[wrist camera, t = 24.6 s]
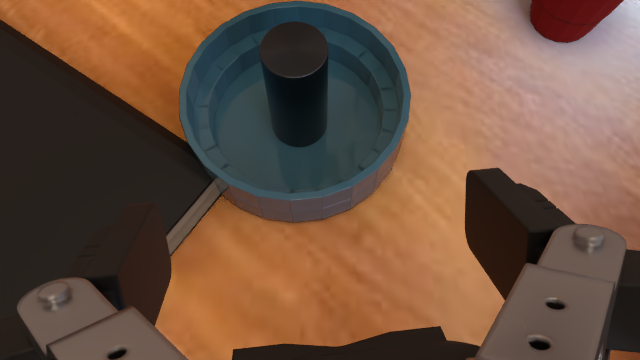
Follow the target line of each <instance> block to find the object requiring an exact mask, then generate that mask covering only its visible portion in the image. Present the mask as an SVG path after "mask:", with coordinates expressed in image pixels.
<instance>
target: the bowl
mask: <svg viewBox="0 0 640 360" xmlns="http://www.w3.org/2000/svg"><path fill="white" fill-rule="evenodd" d="M293 21H297V22H304V23H307V24H310V25H312V26H314V27H316V28H317V29H318V30H319V31H320V32H322V34H323V35H324V36H325V38H326V40H327V43H328V107H327V128H326V131H325V133H324V135H323V136H322V137H321V138H320V139H319V140H318V141H317V142H315V143H313V144H311V145H309V146H305V147H294V146H290V145H287V144H285V143H283V142H282V141H281V140H280V139H279V138H278V137H277V136H276V135H275V133H274V131H273V127H272V121H271V115H270V110H269V104H268V98H267V93H266V87H265V81H264V76H263V70H262V64H261V59H260V53H259V49H260V44H261V41H262V39H263V37H264V36H265V34H266V33H267V32H268V31H269V30H271V29H272V28H273V27H275V26H277V25H279V24H282V23H285V22H293ZM179 90H180V91H179V116H180V121H181V124H182V127H183V130H184V133H185V136H186V139H187V142H188V144H189V146H190V148H191V150H192V152H193V154H194V156H195V157H196V158H197V160H198V161H199V163H200V164H201V165H202V167H203V168H204V169H205V171H206V172H207V174H208V175H209V176H210V177H211V178H213V180H214V183H215V185H216V187H217V189H218V191H219V193H221V194H222V195H223V196H224V197H226V198H227V199H228V200H229V201H231V202H232V203H233V204H234V205H236V206H238V207H239V208H241V209H244V210H246V211H249V212H251V213H253V214H256V215H258V216H260V217H264V218H267V219H274V220H281V221H288V222H300V221H310V220H319V219H324V218H327V217H330V216H332V215H335V214H338V213H340V212H343V211H346V210H349V209H351V208H352V207H353V206H355V205H356V204H358V203H359V202H361V201H362V200H363V199H365V198H366V197H368V196H369V195H371V194H372V193H373V192H374V191H375V190H376V189H377V187H378V186H379V185H380V184H381V182H382V181H383V180H384V179H385V178H386V176H387V175H388V174H389V173H390V171H391V169H392V166H393V164H394V162H395V159H396V157H397V155H398V152H399V150H400V147H401V144H402V140H403V137H404V133H405V130H406V127H407V123H408V118H409V109H410V99H411V92H410V87H409V83H408V78H407V73H406V69H405V67H404V65H403V63H402V61H401V59H400V57H399V56H398V54H397V52H396V50H395V48H394V47H393V45H392V44H391V43H390V42H389V41H388V40H387V39H386V38H385V37H384V36H383V35H382V34H381V33H380V32H379V31H378V30H377V29H376V28H375V27H374V26H372V25H371V24H369V23H368V22H366V21H364V20H363V19H361V18H360V17H358V16H356V15H355V14H352V13H351V12H348V11H345V10H342V9H339V8H336V7H334V6H331V5H328V4H322V3H314V2H305V1H291V2H280V3H272V4H267V5H264V6H261V7H258V8H254V9H251V10H248V11H245V12H243V13H241V14H239V15H237V16H236V17H234V18H232V19H230V20H229V21H227V22H225V23H223V24H222V25H220V26H219V27H218V28H217V29H216V30H215V31H214V32H212V33H211V34H210V35H209V36H208V37H207V38H206V39H205V40H204V41H203V42H202V43H201V44H200V45H199V47H198V48H197V50H196V52H195V53H194V55H193V56H192V58H191V59H190V61H189V62H188V64H187V66H186V69H185V73H184V76H183V79H182V83H181V86H180V89H179Z"/></svg>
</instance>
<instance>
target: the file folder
mask: <svg viewBox="0 0 640 360" xmlns="http://www.w3.org/2000/svg"><path fill="white" fill-rule="evenodd" d="M220 195H221V193H219V191H218V189H217V187H216V185H215V183H214V180H213V178H211V177H210V176H209V175H208V174H207V172H206V171H205V169H204V168H203V167H202V165H201V164H200V163H199V161H198V160H197V158H196V157H195V156H194V154H193V152H192V150H191V148H190V146H189V144H188V143H187V142H185V141H184V140H182V139H181V138H179V137H178V136H176V135H175V134H173V133H172V132H170V131H169V130H167V129H166V128H164V127H163V126H161V125H160V124H158V123H157V122H155V121H153V120H152V119H150V118H149V117H147V116H146V115H144V114H143V113H141V112H140V111H138V110H137V109H135V108H134V107H132V106H131V105H129V104H128V103H126V102H125V101H123V100H122V99H120V98H119V97H117V96H116V95H114V94H112V93H111V92H109V91H108V90H106V89H105V88H103V87H102V86H100V85H99V84H97V83H96V82H94V81H93V80H91V79H90V78H88V77H87V76H85V75H84V74H82V73H81V72H79V71H78V70H76V69H75V68H73V67H72V66H70V65H68V64H67V63H65V62H64V61H62V60H61V59H59V58H58V57H56V56H55V55H53V54H52V53H50V52H49V51H47V50H46V49H44V48H43V47H41V46H40V45H38V44H37V43H35V42H34V41H32V40H31V39H29V38H28V37H26V36H25V35H23V34H21V33H20V32H18V31H17V30H15V29H14V28H12V27H11V26H9V25H8V24H6V23H5V22H3V21H2V20H0V320H2V319H5V318H9V317H12V316H15V315H18V311H17V305H18V302H19V301H20V300H21V298H22V297H23V296H24V295H26V294H27V293H28V292H30V291H31V290H33V289H35V288H36V287H38V286H40V285H43V284H45V283H48V282H51V281H54V280H58V279H62V278H63V276H64V275H65V274H66V272H67V271H68V269H69V268H70V266H71V265H72V263H73V262H74V260H75V259H76V258H78V255H79V253H80V252H81V250H82V249H84V246H85V244H86V243H87V242H88V240H89V239H90V237H91V236H92V235H93V234H95V233H96V232H98V231H99V230H100V229H102V228H103V227H105V226H106V225H113V224H114V223H115V221H116V220H117V218H118V216H119V215H120V213H121V212H122V210H123V209H124V207H125V206H126V205H129V204H139V203H149V202H157V203H158V205H159V207H160V210H161V215H162V219H163V224H164V229H165V234H166V239H167V243H168V248H169V253H170V256H171V255H172V253H173V252H174V251H175V250H176V249H177V247H178V246H179V245H180V244H181V243H182V241H183V240H184V239H185V238H186V237H187V235H188V234H189V233H190V232H191V230H192V229H193V228H194V227H195V226H196V224H197V223H198V222H199V221H200V220H201V218H202V217H203V216H204V215H205V214H206V212H207V211H208V210H209V209H210V208H211V206H212V205H213V204H214V203H215V201H216V200H217V199H218V198H219V197H220Z"/></svg>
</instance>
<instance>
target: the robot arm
mask: <svg viewBox="0 0 640 360" xmlns="http://www.w3.org/2000/svg"><path fill="white" fill-rule="evenodd" d="M465 233H466V239H467V243H468V246H469V248H470V250H471V251H472V253H473V254H474V256H475V257H476V258H477V260H478V261H479V263H480V264H481V266H482V267H483V269H484V270H485V272H486V273H487V275H488V276H489V278H490V279H491V281H492V282H493V284H494V285H495V286H496V288H497V289H498V291H499V292H500V294H501V295H502V297H503V298H504V300H505V302H504V304H503V306H502V308H501V310H500V312H499V313H498V315H497V317H496V319H495V321H494V323H493V325H492V326H491V328H490V330H489V332H488V334H487V336H486V338H485V339H484V341H483V343H482V345H481V347H480V346H477V345H472V344H468V343H463V342H456V341H447V340H446V338H445V336H444V333H443V331H442V329H441V327H440V326H438V327H429V328H420V329H412V330H403V331H394V332H388V333H385V334H381V335H378V336H375V337H371V338H368V339H365V340H361V341H358V342H355V343H351V344H348V345H344V346H339V347H329V346H313V345H297V344H278V345H269V346H260V347H251V348H242V349H233V356H232V360H609V358H610V352H611V350H619V351H628V352H638V353H640V251H635V250H627V249H626V245H627V243H626V241H625V239H624V238H623V237H622V236H621V235H619V234H618V233H616V232H614V231H612V230H609V229H607V228H603V227H600V226H595V225H588V224H576V223H574V222H573V221H572V220H571V219H570V218H569V217H567V216H566V215H565V214H564V213H563V212H562V211H561V210H559V209H558V208H557V209H556V206H555V205H554V204H552V203H551V202H550V201H548V199H547V198H546V197H544V196H543V195H542V194H541V193H540V192H539V191H537V190H535V189H533V188H530V187H528V186H526V185H523V184H521V183H520V184H516V183H515V182H514V181H512V180H511V179H510V178H509V177H508V176H507V175H506V174H505V173H504V172H503V171H502V170H500V169H499V168H490V169H480V170H470V171H469V172H468V173H467V177H466V201H465ZM170 279H171V258H170V253H169V248H168V243H167V239H166V234H165V229H164V224H163V219H162V215H161V210H160V207H159V205H158V203H157V202H149V203H139V204H129V205H126V206H125V207H124V209H123V210H122V212H121V213H120V215H119V216H118V218H117V220H116V221H115V223H114V224H113V225H106V226H105V227H103V228H102V229H100V230H99V231H98V232H96V233H95V234H93V235H92V236H91V237H90V239H89V240H88V242H87V243H86V244H85V246H84V249H82V250H81V252H80V253H79V255H78V258H76V259H75V260H74V262H73V263H72V265H71V266H70V268H69V269H68V271H67V272H66V274H65V275H64V276H63V278H62V279H58V280H54V281H51V282H48V283H45V284H43V285H40V286H38V287H36V288H35V289H33V290H31V291H30V292H28V293H27V294H26V295H24V296H23V297H22V298H21V300H20V301H19V302H18V305H17V311H18V315H15V316H12V317H9V318H5V319H2V320H0V360H188V359H187V358H186V357H185V356H184V355H183V354H182V353H181V352H180V351H179V350H178V349H177V348H176V347H175V346H174V345H173V344H172V343H171V342H170V341H169V340H168V339H167V338H166V337H165V336H164V335H162V334H161V333H160V332H159V331H158V330H157V329H156V328H155V327H154V326H155V323H156V320H157V317H158V315H159V312H160V309H161V306H162V303H163V300H164V297H165V294H166V291H167V288H168V285H169V282H170Z"/></svg>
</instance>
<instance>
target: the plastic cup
mask: <svg viewBox="0 0 640 360" xmlns="http://www.w3.org/2000/svg"><path fill="white" fill-rule="evenodd" d="M622 1H624V0H532V3H531V11H530V17H531V22H532V24H533V26H534V28H535V29H536V30H537V31H538V32H539V33H540V34H541V35H543V36H544V37H545V38H548V39H550V40H553V41H555V42H567V43H568V42H572V41H576V40H579V39H580V38H581V37H583V36H584V35H586V34H587V33H588V32H590V31H591V30H592V29H593V28H594V27H595V26H596V25H597V24H598V23H599V22H600V21H601V20H603V19H604V18H605V17H606V16H608V15H609V14H610V13H611V12H612V11H613V10H614V9H615V8H616V7H617V6H618V5H619V4H620V3H621V2H622Z"/></svg>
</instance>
